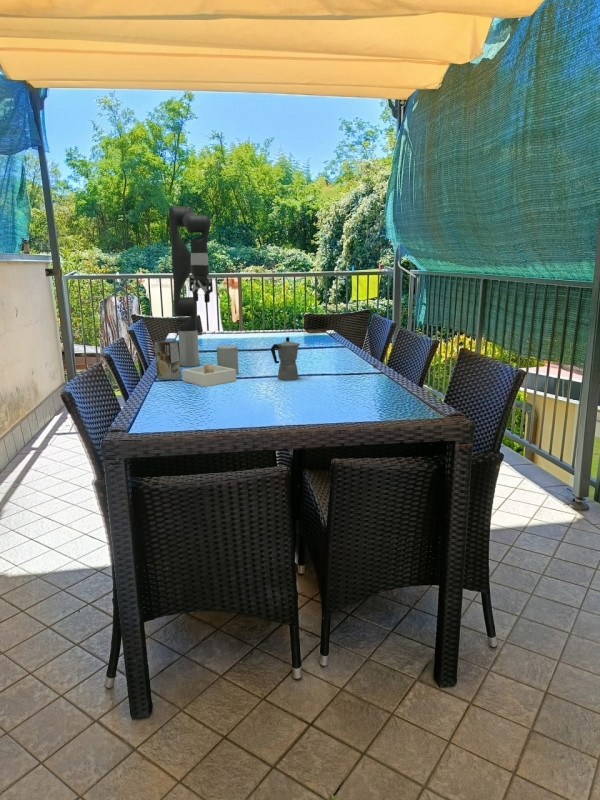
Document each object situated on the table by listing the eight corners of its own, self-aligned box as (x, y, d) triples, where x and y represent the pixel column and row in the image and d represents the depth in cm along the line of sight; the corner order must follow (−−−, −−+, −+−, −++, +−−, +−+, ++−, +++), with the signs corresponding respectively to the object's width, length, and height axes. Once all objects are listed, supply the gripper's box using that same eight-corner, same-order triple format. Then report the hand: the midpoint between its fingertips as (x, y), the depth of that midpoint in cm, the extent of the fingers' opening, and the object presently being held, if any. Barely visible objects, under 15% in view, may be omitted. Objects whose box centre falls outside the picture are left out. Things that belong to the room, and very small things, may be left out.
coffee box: (182, 377, 243) (180, 341, 239) (172, 379, 238) (170, 342, 234) (166, 375, 247) (163, 339, 243) (156, 378, 242) (153, 341, 238)
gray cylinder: (231, 376, 245) (230, 348, 242) (213, 374, 249) (212, 347, 246) (242, 372, 253) (241, 346, 250) (225, 371, 257) (224, 344, 254)
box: (183, 381, 235) (182, 369, 234) (213, 375, 246) (213, 364, 245) (205, 386, 224) (204, 374, 223) (236, 380, 235) (235, 369, 233)
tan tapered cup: (202, 378, 234) (201, 365, 233) (210, 377, 237) (209, 363, 235) (209, 380, 232) (207, 366, 230) (216, 378, 235) (215, 364, 233)
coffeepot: (293, 375, 247) (292, 335, 243) (306, 378, 240) (306, 336, 236) (265, 379, 237) (264, 337, 233) (278, 382, 230) (277, 340, 226)
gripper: (183, 263, 241) (185, 301, 245) (202, 264, 231) (203, 303, 235) (197, 263, 246) (199, 300, 250) (216, 264, 236) (218, 302, 240)
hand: (201, 301), depth 243 cm, fingers open, 8 cm apart
